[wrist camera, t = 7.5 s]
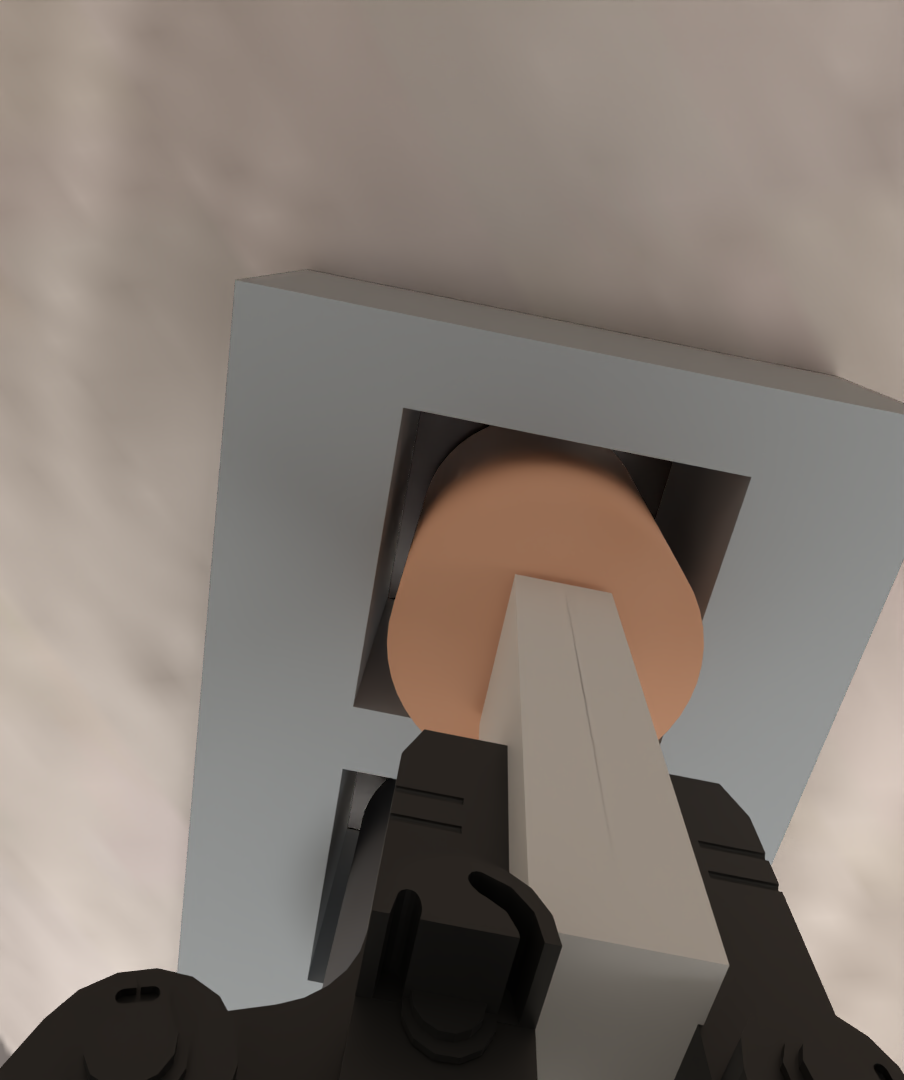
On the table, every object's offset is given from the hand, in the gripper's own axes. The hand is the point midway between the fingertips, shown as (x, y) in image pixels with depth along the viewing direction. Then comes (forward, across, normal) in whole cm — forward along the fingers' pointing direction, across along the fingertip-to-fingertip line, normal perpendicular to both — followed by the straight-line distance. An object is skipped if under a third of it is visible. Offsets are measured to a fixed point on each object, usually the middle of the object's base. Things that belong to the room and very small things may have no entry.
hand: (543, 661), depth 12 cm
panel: (+7, 0, -8) cm, 10 cm away
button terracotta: (+6, 0, 0) cm, 6 cm away
